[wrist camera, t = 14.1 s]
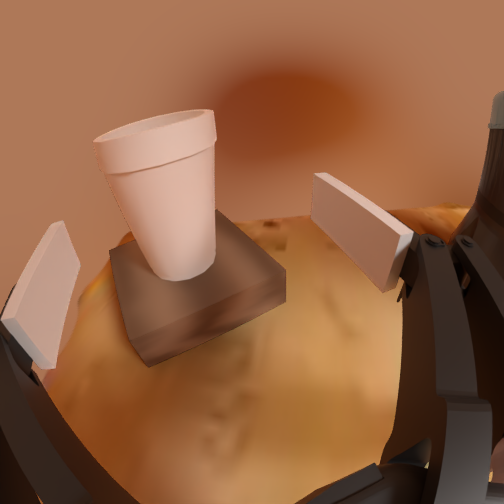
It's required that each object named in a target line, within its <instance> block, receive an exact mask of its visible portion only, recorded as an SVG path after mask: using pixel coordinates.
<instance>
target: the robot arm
mask: <svg viewBox="0 0 504 504" xmlns="http://www.w3.org/2000/svg"><path fill="white" fill-rule="evenodd" d="M488 128H490V132H489V139H488V145H487V151H486V157H485V162H484V167H483V171H482V175H481V180H480V184H479V188H478V192H477V196H476V199H475V202H474V204H473V206H472V207H471V209H470V210H469V212H468V213H467V214H466V216H465V217H464V219H463V220H462V222H461V223H460V224H459V226H458V227H457V228H456V230H455V231H454V232H453V234H452V236H451V238H450V241H449V243H448V245H446V243H445V242H444V241H443V240H442V239H440V238H439V237H437V236H434V235H432V234H422V235H421V236H420V235H419V234H417V233H416V232H415V231H413V230H412V229H411V228H409V227H408V226H407V225H405V224H404V223H403V222H401V221H400V220H399V219H397V218H395V217H394V216H393V215H392V214H390V213H389V212H387V211H385V210H383V209H381V208H380V207H379V206H377V205H376V204H374V203H373V202H371V201H370V200H368V199H367V198H365V197H364V196H362V195H361V194H359V193H358V192H356V191H355V190H353V189H352V188H350V187H349V186H347V185H345V184H344V183H342V182H341V181H339V180H337V179H336V178H334V177H332V176H331V175H329V174H328V173H315V174H314V177H313V194H312V208H311V220H312V221H313V222H314V223H315V224H316V225H318V226H319V227H320V228H321V229H322V230H323V231H324V232H325V233H326V234H327V235H328V236H329V237H330V238H331V239H332V240H333V241H334V242H335V243H336V244H337V245H338V246H339V247H340V248H341V249H342V250H343V251H344V252H345V253H346V255H347V256H348V257H349V258H350V259H351V260H352V261H353V262H354V263H355V264H356V265H357V266H358V267H359V268H360V269H361V270H362V271H363V272H364V273H365V274H366V275H367V277H368V278H369V279H370V280H371V281H372V282H373V283H374V284H375V285H376V286H377V287H378V288H379V290H380V291H381V292H382V293H383V292H386V291H389V290H391V289H394V288H395V287H396V285H397V282H398V279H399V276H400V277H401V278H402V279H403V280H404V284H403V286H402V289H401V291H400V294H399V296H398V299H397V302H399V301H400V299H401V298H402V307H403V329H402V356H401V371H400V382H399V391H398V400H397V407H396V414H395V420H394V426H393V431H392V434H391V436H390V438H389V440H388V441H387V443H386V445H385V447H384V450H383V453H382V456H381V460H380V464H379V465H377V466H376V464H375V463H373V464H371V465H369V466H367V467H365V468H363V469H361V470H359V471H357V472H355V473H352V474H350V475H348V476H346V477H344V478H342V479H340V480H337V481H335V482H333V483H331V484H328V485H326V486H324V487H321V488H319V489H317V490H315V491H313V492H312V493H310V494H309V495H307V496H306V497H304V498H303V499H301V500H300V501H298V502H296V503H295V504H504V91H501V92H499V93H498V94H496V95H495V97H494V99H493V105H492V112H491V119H490V123H489V124H488ZM80 266H81V264H80V261H79V259H78V257H77V254H76V252H75V250H74V247H73V245H72V242H71V239H70V237H69V234H68V232H67V229H66V226H65V223H64V220H62V221H58V222H55V223H52V224H51V225H50V227H49V228H48V230H47V231H46V233H45V234H44V236H43V238H42V239H41V241H40V242H39V244H38V246H37V247H36V249H35V251H34V252H33V254H32V256H31V258H30V259H29V261H28V263H27V265H26V267H25V268H24V271H23V272H22V274H21V276H20V278H19V280H18V282H17V283H16V285H15V286H14V287H13V288H12V290H11V292H10V294H9V296H8V299H7V301H6V303H5V306H4V307H3V310H2V312H1V314H0V504H41V503H40V501H39V499H38V497H37V495H38V496H39V498H40V499H41V501H42V502H43V504H140V503H139V502H138V501H137V500H135V499H134V498H133V497H132V496H131V495H130V494H129V493H128V492H127V491H126V490H124V489H123V488H122V487H121V486H120V485H119V484H118V483H117V482H116V481H115V480H114V479H113V478H112V477H111V476H110V475H109V474H108V473H107V471H106V470H105V469H104V468H103V467H102V466H101V465H100V464H99V463H98V462H97V460H96V459H95V458H94V457H93V456H92V455H91V454H90V452H89V451H88V450H87V449H86V448H85V446H84V445H83V444H82V443H81V441H80V440H79V439H78V437H77V436H76V435H75V434H74V432H73V431H72V429H71V428H70V427H69V425H68V424H67V423H66V421H65V420H64V418H63V417H62V415H61V414H60V412H59V411H58V409H57V408H56V406H55V405H54V403H53V402H52V400H51V398H50V397H49V395H48V393H47V392H46V390H45V388H44V387H43V385H42V383H41V381H40V380H39V378H38V376H37V374H36V373H35V372H34V371H33V370H32V369H31V366H32V362H33V361H34V362H35V363H36V365H37V366H38V367H39V368H40V369H41V370H42V369H55V368H56V362H57V356H58V351H59V345H60V340H61V336H62V331H63V326H64V322H65V318H66V314H67V310H68V306H69V303H70V299H71V295H72V292H73V289H74V285H75V282H76V278H77V276H78V272H79V269H80ZM428 462H429V466H428V469H427V468H424V467H425V465H426V464H427V463H428ZM492 471H493V477H492V481H491V482H488V480H489V472H492ZM36 493H37V494H36Z"/></svg>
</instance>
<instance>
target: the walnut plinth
mask: <svg viewBox="0 0 504 504" xmlns="http://www.w3.org/2000/svg"><path fill="white" fill-rule="evenodd" d="M215 235H216V249H215V251H216V255H215V259H214V262H213V264H212V265H211V266H210V267H209V268H208V269H207V270H206V271H205V272H204V273H202V274H200V275H197V276H195V277H193V278H191V279H187V280H181V281H170V280H164V279H161V278H160V277H159V276H157V275H156V274H155V273H154V272H153V269H152V268H151V267H150V265H149V264H148V262H147V260H146V258H145V256H144V254H143V253H142V251H141V249H140V247H139V245H138V243H137V241H136V240H133V241H131V242H128V243H126V244H123V245H121V246H118V247H116V248H114V249H111V250H109V254H110V260H111V265H112V271H113V276H114V281H115V286H116V291H117V295H118V299H119V304H120V308H121V312H122V316H123V320H124V324H125V327H126V331H127V335H128V338H129V341H130V343H131V344H132V345H133V347H134V348H135V350H136V351H137V353H138V354H139V355H140V357H141V358H142V360H143V361H144V362H145V364H146V365H147V366H148V367H150V366H153V365H155V364H158V363H160V362H162V361H165V360H167V359H169V358H171V357H174V356H176V355H178V354H180V353H183V352H185V351H187V350H189V349H191V348H194V347H196V346H198V345H200V344H202V343H204V342H207V341H209V340H211V339H213V338H215V337H217V336H219V335H221V334H223V333H225V332H227V331H230V330H232V329H234V328H236V327H238V326H240V325H242V324H244V323H246V322H248V321H250V320H252V319H254V318H256V317H257V316H259V315H261V314H263V313H265V312H267V311H269V310H271V309H273V308H275V307H277V306H279V305H280V304H282V303H284V302H286V269H284V268H283V267H282V266H281V265H280V264H279V263H278V262H276V261H275V260H274V259H273V258H272V257H271V256H270V255H269V254H267V253H266V252H265V251H264V250H263V249H262V248H261V247H260V246H258V245H257V244H256V243H255V242H254V241H253V240H252V239H250V238H249V237H248V236H247V235H246V234H245V233H244V232H242V231H241V230H240V229H239V228H238V227H237V226H236V225H234V224H233V223H232V222H231V221H230V220H229V219H228V218H226V217H225V216H224V215H223V214H222V213H221V212H219V211H218V210H215Z"/></svg>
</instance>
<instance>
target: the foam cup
mask: <svg viewBox="0 0 504 504" xmlns="http://www.w3.org/2000/svg"><path fill="white" fill-rule="evenodd" d="M213 112H214V111H212V110H208V109H203V110H189V111H182V112H175V113H169V114H165V115H160V116H156V117H151V118H148V119H144V120H141V121H137V122H134V123H130V124H127V125H125V126H122V127H119V128H117V129H114V130H111V131H109V132H107V133H105V134H103V135H101V136H99V137H97V138H96V139H95V140H94V141H93V146H94V150H95V154H96V158H97V162H98V165H99V169H100V171H102V172H104V175H105V177H106V179H107V182H108V184H109V186H110V188H111V191H112V193H113V195H114V197H115V199H116V201H117V203H118V206H119V208H120V210H121V212H122V214H123V216H124V218H125V220H126V222H127V224H128V226H129V228H130V230H131V232H132V234H133V236H134V238H135V240H136V241H137V243H138V245H139V247H140V249H141V251H142V253H143V254H144V256H145V258H146V260H147V262H148V264H149V265H150V267H151V268H152V269H153V272H154V273H155V274H156V275H157V276H159V277H160V278H161V279H164V280H170V281H181V280H187V279H191V278H193V277H195V276H197V275H200V274H202V273H204V272H205V271H206V270H207V269H208V268H209V267H210V266H211V265H212V264H213V262H214V259H215V255H216V251H215V249H216V235H215V187H214V186H215V182H214V143H215V141H216V140H217V136H216V128H215V119H214V113H213Z"/></svg>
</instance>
